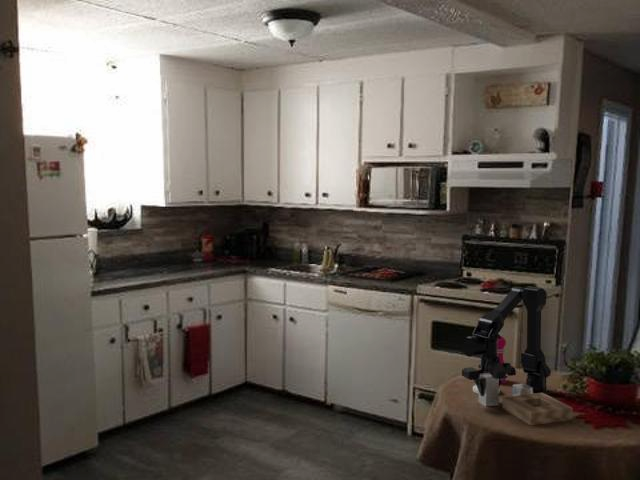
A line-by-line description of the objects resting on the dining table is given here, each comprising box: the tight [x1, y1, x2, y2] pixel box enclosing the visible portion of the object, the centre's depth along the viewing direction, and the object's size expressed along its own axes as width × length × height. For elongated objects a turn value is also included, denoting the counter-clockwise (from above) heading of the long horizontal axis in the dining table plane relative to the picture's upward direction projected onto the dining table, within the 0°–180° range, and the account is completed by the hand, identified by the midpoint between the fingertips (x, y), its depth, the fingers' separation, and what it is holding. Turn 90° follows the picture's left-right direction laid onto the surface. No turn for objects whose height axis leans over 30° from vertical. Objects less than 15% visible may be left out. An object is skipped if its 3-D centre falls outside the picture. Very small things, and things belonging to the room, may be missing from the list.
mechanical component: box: [472, 384, 501, 395], centre depth 229 cm, size 10×4×10 cm
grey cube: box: [511, 383, 534, 396], centre depth 220 cm, size 5×5×5 cm
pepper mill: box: [497, 331, 507, 385], centre depth 240 cm, size 7×7×20 cm
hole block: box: [502, 392, 574, 426], centre depth 205 cm, size 16×16×4 cm
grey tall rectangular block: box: [478, 374, 500, 407], centre depth 216 cm, size 5×5×10 cm
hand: (488, 395), depth 216 cm, fingers closed on grey tall rectangular block, 5 cm apart
